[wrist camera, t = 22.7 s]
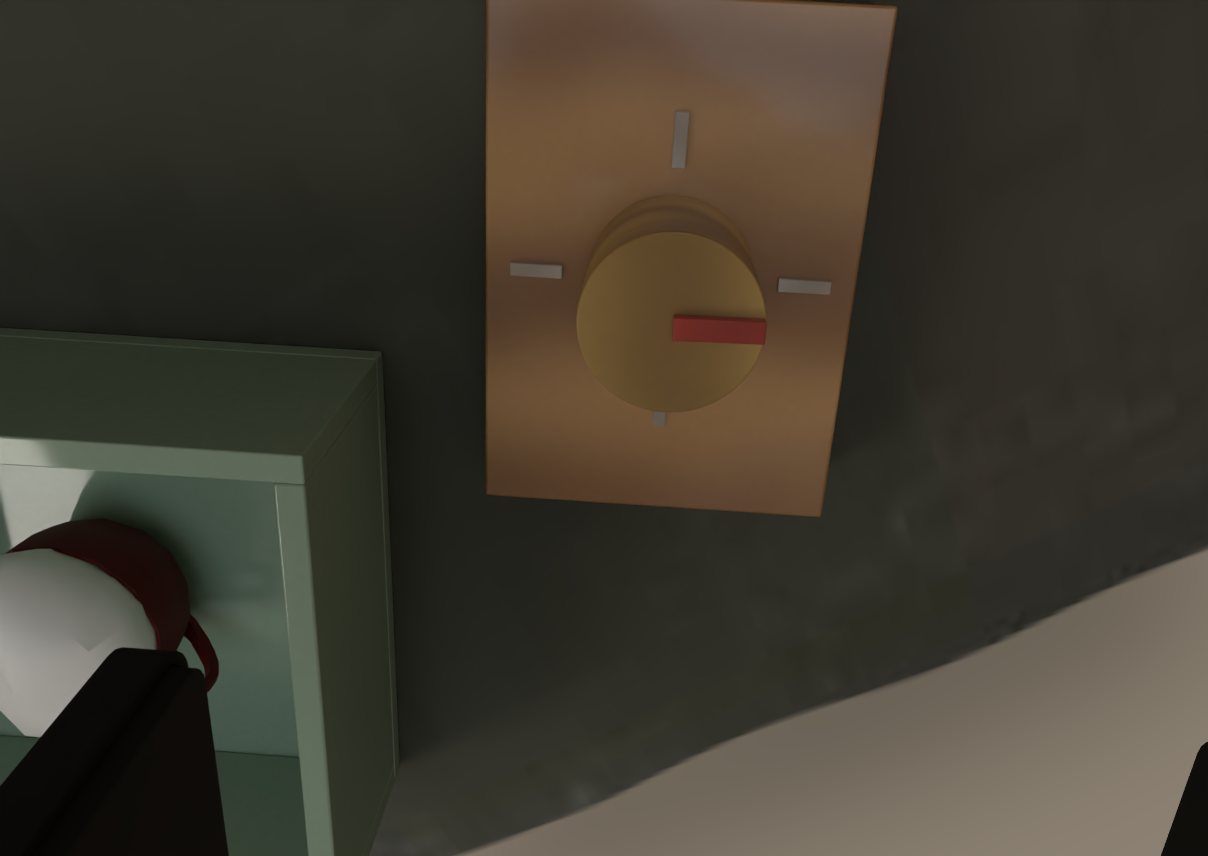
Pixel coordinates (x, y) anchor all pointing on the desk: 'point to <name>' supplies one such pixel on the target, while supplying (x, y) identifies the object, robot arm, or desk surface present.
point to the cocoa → (85, 613)
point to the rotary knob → (671, 306)
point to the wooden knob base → (689, 169)
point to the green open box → (235, 549)
